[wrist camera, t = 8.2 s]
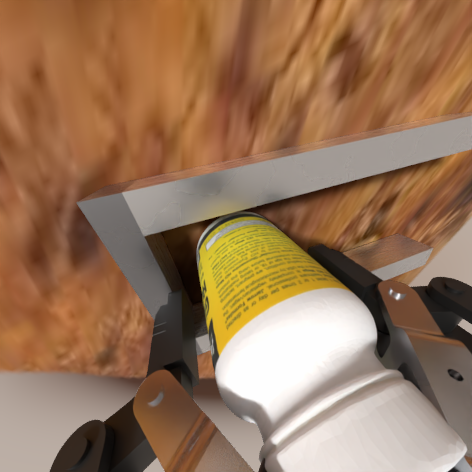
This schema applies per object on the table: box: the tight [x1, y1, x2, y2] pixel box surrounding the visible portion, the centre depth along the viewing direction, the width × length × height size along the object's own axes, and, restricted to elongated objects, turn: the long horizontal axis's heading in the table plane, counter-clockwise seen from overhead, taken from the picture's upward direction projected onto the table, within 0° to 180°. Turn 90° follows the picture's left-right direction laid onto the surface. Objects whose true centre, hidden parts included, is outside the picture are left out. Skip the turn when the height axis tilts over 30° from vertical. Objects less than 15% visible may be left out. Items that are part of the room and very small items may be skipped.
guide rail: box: [77, 112, 472, 355], centre depth 13 cm, size 24×12×3 cm, turn 99°
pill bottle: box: [197, 211, 467, 472], centre depth 8 cm, size 6×6×11 cm
